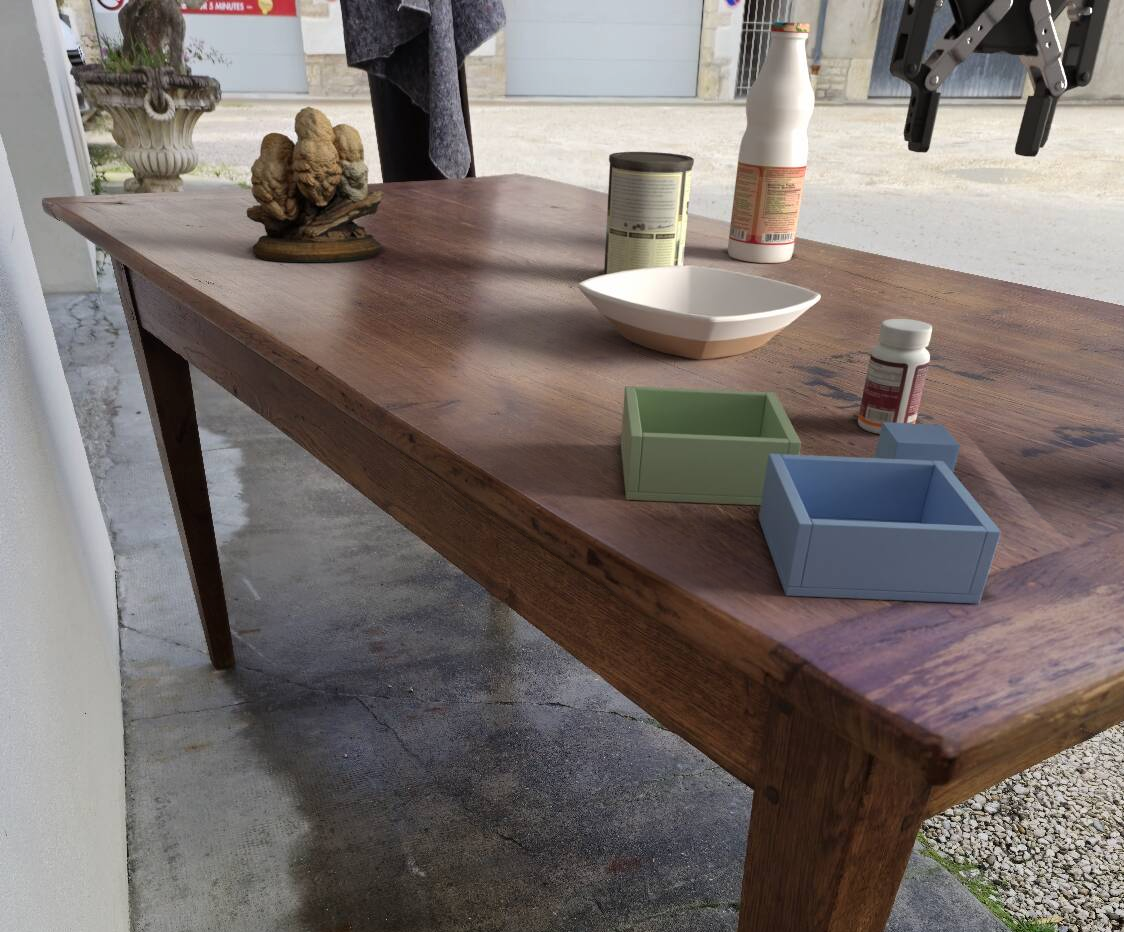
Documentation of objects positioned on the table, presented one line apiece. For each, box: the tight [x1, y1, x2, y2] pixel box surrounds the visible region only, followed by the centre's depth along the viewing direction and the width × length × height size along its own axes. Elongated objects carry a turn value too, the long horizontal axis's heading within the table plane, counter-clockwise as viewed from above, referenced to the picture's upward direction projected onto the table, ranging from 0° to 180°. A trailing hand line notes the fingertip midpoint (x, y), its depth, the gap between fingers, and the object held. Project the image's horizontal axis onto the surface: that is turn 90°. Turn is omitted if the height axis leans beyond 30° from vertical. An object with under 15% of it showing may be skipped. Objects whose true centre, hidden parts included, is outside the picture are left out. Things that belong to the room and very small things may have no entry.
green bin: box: [620, 385, 802, 506], centre depth 77 cm, size 12×12×5 cm
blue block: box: [874, 422, 961, 474], centre depth 75 cm, size 4×4×4 cm
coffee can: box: [603, 151, 695, 275], centre depth 130 cm, size 10×10×14 cm
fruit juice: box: [727, 21, 816, 264], centre depth 143 cm, size 9×9×28 cm
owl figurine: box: [246, 106, 385, 263], centre depth 135 cm, size 18×12×17 cm, turn 112°
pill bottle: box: [857, 318, 933, 435], centre depth 86 cm, size 5×5×8 cm
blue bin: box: [758, 454, 1002, 605], centre depth 65 cm, size 12×12×5 cm
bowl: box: [577, 264, 821, 360], centre depth 108 cm, size 22×22×5 cm
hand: (971, 153), depth 76 cm, fingers open, 8 cm apart
